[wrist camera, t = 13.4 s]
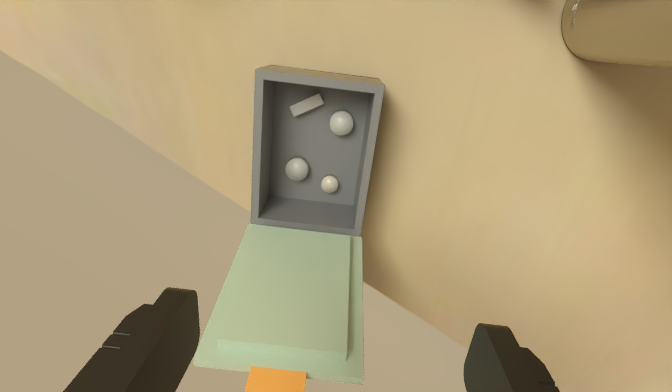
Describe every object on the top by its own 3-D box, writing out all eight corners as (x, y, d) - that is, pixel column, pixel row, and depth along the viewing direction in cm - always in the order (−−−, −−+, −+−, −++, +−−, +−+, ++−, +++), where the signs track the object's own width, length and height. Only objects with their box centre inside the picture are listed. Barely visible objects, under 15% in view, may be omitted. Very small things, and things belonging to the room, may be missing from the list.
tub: (378, 78, 40) (384, 85, 34) (358, 209, 46) (360, 236, 40) (270, 64, 40) (255, 69, 34) (264, 198, 46) (250, 223, 40)
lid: (368, 491, 20) (358, 516, 22) (363, 230, 39) (358, 257, 42) (142, 467, 20) (154, 495, 22) (248, 216, 39) (249, 244, 41)
